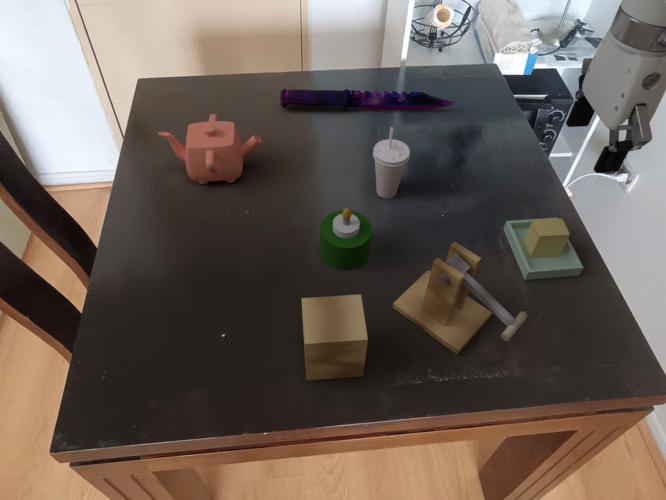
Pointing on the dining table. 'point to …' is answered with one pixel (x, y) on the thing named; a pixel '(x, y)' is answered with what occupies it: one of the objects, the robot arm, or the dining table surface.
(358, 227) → the candle
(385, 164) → the smoothie
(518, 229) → the butter dish
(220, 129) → the teapot
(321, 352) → the stand
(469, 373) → the dining table surface
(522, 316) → the lever
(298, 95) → the knife
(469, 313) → the slicer
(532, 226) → the butter
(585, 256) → the dining table surface
